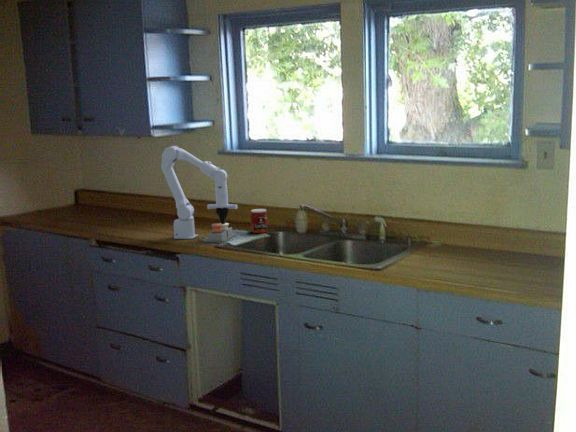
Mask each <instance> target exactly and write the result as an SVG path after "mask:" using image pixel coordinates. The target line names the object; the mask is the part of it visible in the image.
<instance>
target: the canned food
mask: <svg viewBox="0 0 576 432" xmlns="http://www.w3.org/2000/svg"><path fill="white" fill-rule="evenodd" d="M267 216H268V213H267V209H266V208H255V209H251V210H250V218H251V219H250V221H251V223H250V224H251V232H253V233H252V234H254V233H262V234H265V233H264V232H266V233H267V232H268V217H267Z"/></svg>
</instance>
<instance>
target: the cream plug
mask: <svg viewBox="0 0 576 432" xmlns="http://www.w3.org/2000/svg"><path fill="white" fill-rule="evenodd" d="M229 224H230V223H228V222H225V224H222V227H221V228H222V230H227V229H228V227H229V226H230V225H229Z"/></svg>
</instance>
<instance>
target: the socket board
mask: <svg viewBox="0 0 576 432" xmlns="http://www.w3.org/2000/svg"><path fill="white" fill-rule="evenodd" d="M207 235H208V236H207V237H208V238H207V239H205V240H204V242H205V243H227V242H228V241H229V239H230V240H231V239H233V238H235V237H236V236H237V233H234V231H233V227H229V226H228V229H227V230H222V233H221V234H218V233H213V230H212V231H210V232H209V233H208V234H207ZM235 235H236V236H235ZM232 237H233V238H232Z"/></svg>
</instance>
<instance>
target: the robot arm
mask: <svg viewBox="0 0 576 432" xmlns="http://www.w3.org/2000/svg"><path fill="white" fill-rule="evenodd" d="M177 160H179V161H180V160H181V161H182V160H184V161H186V162H188V163H190V164H192V165H194V166H195V167H197V168H199V171H200V172H201V173H202V174H204V175H206V177H209V178H211V179H212V180H213V181H214V189H215V203H214V204H213V203H212V204H211V203H210V204H207V205H206V207H207V210H212V209H213V210H215V213H216V214H217V216H218V218H219V221H220V223H221V224H225V223H227V222H226V220H227V217H228V213H229V212H230V210H231V209H232V210H233V209H234V210H237V209H238V204H235V203H234V204H233V203H229V195H228V194H229V193H228V191H229V190H228V185H227V184H228V182H227V179H228V173H227V171H226V170H225V169H223V168H221V167H219V166H216V165H214V164H212V161H207V160H205V161H202V160H201V159H199V158H198V157H196V156H195V155H193V154H191V153H190V152H188V151H187V150H185V149H183V148H181V147H179V146H178V145H171V146H168V147H166V148H165V149H164V150H163V152H162V154H161V163H160V164H161V165H160V168H161V171H162V173H163V175H164V178H165V180H166V182H167V185H168V187H169V190H170V191H171V194H172V197H173V199H174V201H175V208H176V211H177V212H176V213H177V216H178V218H177V219H174V220H173V236H174V237H173V239H180V240H181V239H183V240H184V239H185V240H186V239H188V240H192V239H194V238H196V237H198V236H199V234H196V233H195V232H196V230H195V219H194V218H195V217H194V214H195V208H194V206H193V205H192V204H191V202H190V201H189V199H187V197H186V195H185V193H184V191H183V188H182V186H181V184H180V181H179V179H178V177H177V174H176V172H175V169H174V165H175V163H176V161H177Z"/></svg>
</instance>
